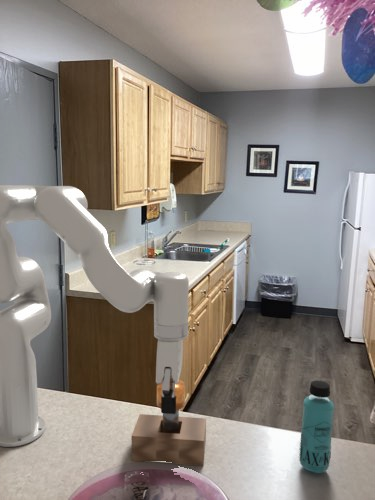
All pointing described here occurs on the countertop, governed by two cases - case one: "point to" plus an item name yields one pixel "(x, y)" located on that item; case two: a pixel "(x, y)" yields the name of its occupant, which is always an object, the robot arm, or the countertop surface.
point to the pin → (173, 419)
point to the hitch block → (169, 440)
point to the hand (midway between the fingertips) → (170, 404)
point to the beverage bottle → (316, 428)
